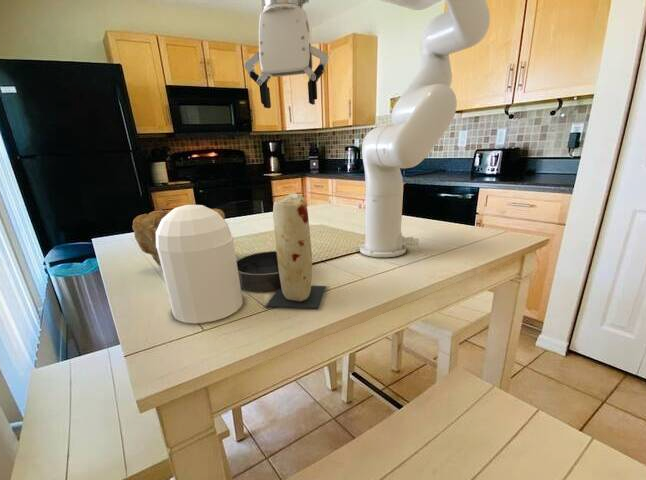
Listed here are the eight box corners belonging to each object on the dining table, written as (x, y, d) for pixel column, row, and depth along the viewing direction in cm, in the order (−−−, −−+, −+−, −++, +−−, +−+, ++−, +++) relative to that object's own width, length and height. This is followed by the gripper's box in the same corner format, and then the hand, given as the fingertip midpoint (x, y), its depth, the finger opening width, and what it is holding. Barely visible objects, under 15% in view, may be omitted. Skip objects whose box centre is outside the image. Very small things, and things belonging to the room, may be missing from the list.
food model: (320, 302, 64) (314, 196, 57) (285, 308, 63) (275, 200, 55) (308, 283, 73) (302, 189, 66) (278, 288, 72) (268, 192, 64)
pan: (310, 266, 85) (309, 251, 83) (295, 293, 70) (294, 275, 68) (249, 265, 88) (247, 250, 86) (222, 291, 73) (219, 274, 72)
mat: (325, 287, 72) (325, 285, 72) (317, 309, 63) (317, 307, 63) (280, 286, 74) (280, 285, 73) (266, 307, 65) (266, 305, 64)
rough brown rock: (139, 290, 78) (123, 228, 71) (143, 264, 92) (130, 210, 85) (239, 275, 86) (233, 218, 79) (229, 253, 100) (223, 202, 93)
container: (173, 330, 58) (144, 215, 51) (171, 300, 70) (148, 203, 62) (249, 312, 63) (233, 205, 55) (236, 287, 74) (221, 196, 67)
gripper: (329, 6, 66) (332, 104, 72) (245, 17, 69) (256, 110, 75) (323, -10, 59) (327, 100, 65) (231, 4, 62) (243, 107, 68)
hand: (289, 105), depth 70 cm, fingers open, 9 cm apart
